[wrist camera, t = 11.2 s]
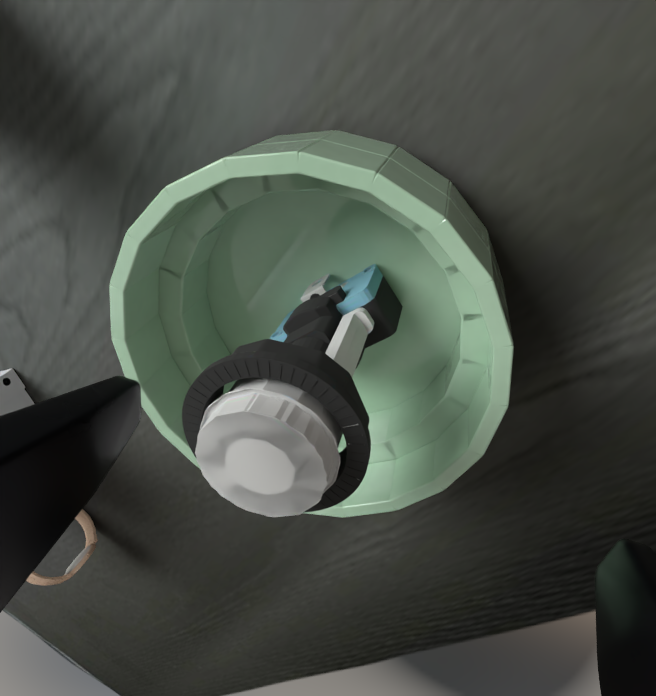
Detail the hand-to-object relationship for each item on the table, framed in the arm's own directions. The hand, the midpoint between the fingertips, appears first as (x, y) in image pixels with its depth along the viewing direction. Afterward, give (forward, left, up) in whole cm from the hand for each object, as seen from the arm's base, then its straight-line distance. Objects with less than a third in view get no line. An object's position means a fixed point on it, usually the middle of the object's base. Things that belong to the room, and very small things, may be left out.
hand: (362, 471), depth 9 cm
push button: (+3, +4, -12) cm, 13 cm away
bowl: (+3, +4, -13) cm, 14 cm away
